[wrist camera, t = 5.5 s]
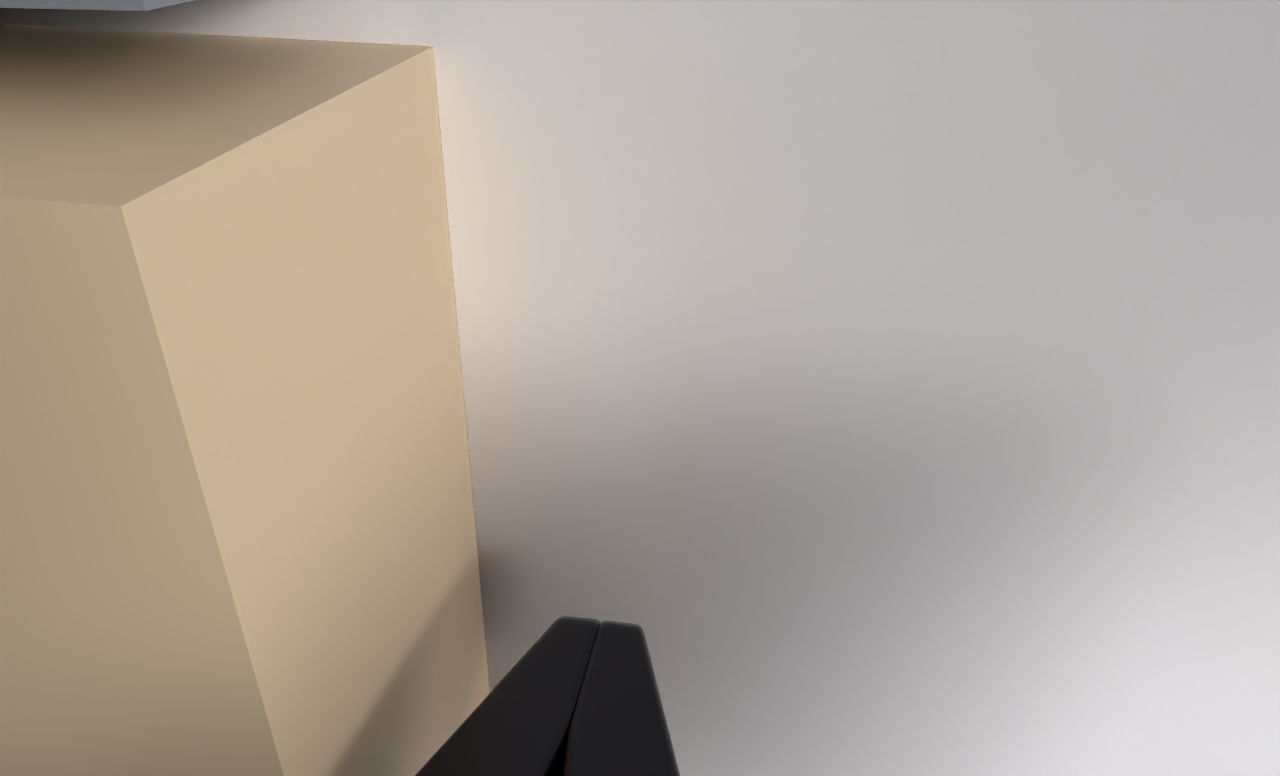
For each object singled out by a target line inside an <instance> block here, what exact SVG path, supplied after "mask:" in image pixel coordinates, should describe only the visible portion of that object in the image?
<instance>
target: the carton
mask: <svg viewBox="0 0 1280 776" xmlns="http://www.w3.org/2000/svg"><path fill="white" fill-rule="evenodd" d="M489 694H490V685H489V674H488V663H487V652H486V640H485V629H484V618H483V607H482V595H481V584H480V573H479V562H478V550H477V539H476V528H475V516H474V505H473V494H472V483H471V471H470V460H469V449H468V438H467V426H466V415H465V404H464V392H463V381H462V370H461V359H460V347H459V336H458V325H457V314H456V302H455V291H454V280H453V269H452V257H451V246H450V235H449V223H448V212H447V201H446V190H445V178H444V167H443V156H442V145H441V133H440V122H439V111H438V99H437V88H436V77H435V66H434V54H433V47H430V46H411V45H392V44H373V43H354V42H336V41H317V40H298V39H279V38H260V37H241V36H222V35H203V34H184V33H165V32H146V31H127V30H108V29H89V28H70V27H51V26H32V25H13V24H0V776H415V775H416V774H417V773H418V771H419V770H420V769H421V768H422V767H423V766H424V765H425V764H426V763H427V762H428V761H429V759H430V758H431V757H432V756H433V755H434V754H435V753H436V752H437V751H438V750H439V748H440V747H441V746H442V745H443V744H444V743H445V742H446V741H447V740H448V739H449V737H450V736H451V735H452V734H453V733H454V732H455V731H456V730H457V729H458V728H459V726H460V725H461V724H462V723H463V722H464V721H465V720H466V719H467V718H468V717H469V715H470V714H471V713H472V712H473V711H474V710H475V709H476V708H477V707H478V706H479V705H480V703H481V702H482V701H483V700H484V699H485V698H486V697H487V696H488V695H489Z"/></svg>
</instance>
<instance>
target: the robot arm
mask: <svg viewBox="0 0 1280 776" xmlns="http://www.w3.org/2000/svg"><path fill="white" fill-rule="evenodd" d="M415 776H680V774H679V770H678V766H677V762H676V758H675V754H674V750H673V746H672V742H671V738H670V734H669V730H668V726H667V722H666V718H665V714H664V710H663V706H662V703H661V699H660V695H659V691H658V687H657V683H656V679H655V675H654V671H653V667H652V663H651V659H650V655H649V651H648V647H647V643H646V639H645V635H644V632H643V629H642V628H641V626H639V625H638V624H632V623H623V622H614V621H603V622H601V623H600V622H599V621H598V620H596V619H587V618H578V617H569V616H563V617H561V618H559V619H557V620H556V621H555V622H554V623H553V624H552V625H551V627H550V628H549V629H548V630H547V631H546V632H545V633H544V634H543V635H542V636H541V638H540V639H539V640H538V641H537V642H536V643H535V644H534V645H533V646H532V647H531V649H530V650H529V651H528V652H527V653H526V654H525V655H524V656H523V657H522V658H521V659H520V661H519V662H518V663H517V664H516V665H515V666H514V667H513V668H512V669H511V670H510V672H509V673H508V674H507V675H506V676H505V677H504V678H503V679H502V680H501V681H500V683H499V684H498V685H497V686H496V687H495V688H494V689H493V690H492V691H491V692H490V694H489V695H488V696H487V697H486V698H485V699H484V700H483V701H482V702H481V703H480V705H479V706H478V707H477V708H476V709H475V710H474V711H473V712H472V713H471V714H470V715H469V717H468V718H467V719H466V720H465V721H464V722H463V723H462V724H461V725H460V726H459V728H458V729H457V730H456V731H455V732H454V733H453V734H452V735H451V736H450V737H449V739H448V740H447V741H446V742H445V743H444V744H443V745H442V746H441V747H440V748H439V750H438V751H437V752H436V753H435V754H434V755H433V756H432V757H431V758H430V759H429V761H428V762H427V763H426V764H425V765H424V766H423V767H422V768H421V769H420V770H419V771H418V773H417V774H416V775H415Z"/></svg>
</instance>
